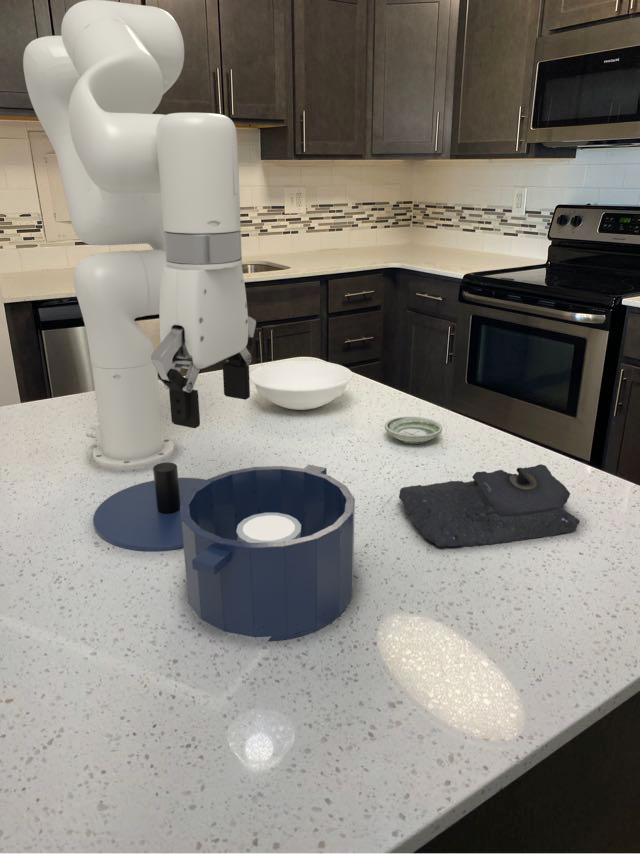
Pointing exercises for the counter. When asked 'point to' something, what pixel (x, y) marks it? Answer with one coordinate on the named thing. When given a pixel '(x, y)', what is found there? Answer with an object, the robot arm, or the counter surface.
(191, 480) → the lid
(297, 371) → the bowl
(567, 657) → the counter surface
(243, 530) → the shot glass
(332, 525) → the pot
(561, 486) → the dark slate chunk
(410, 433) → the saucer
